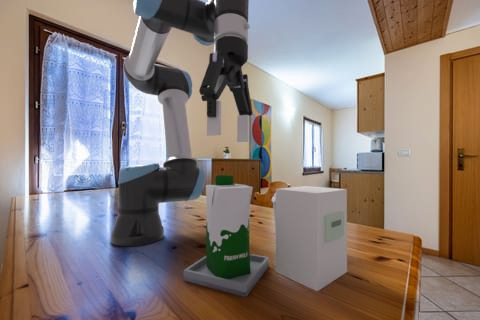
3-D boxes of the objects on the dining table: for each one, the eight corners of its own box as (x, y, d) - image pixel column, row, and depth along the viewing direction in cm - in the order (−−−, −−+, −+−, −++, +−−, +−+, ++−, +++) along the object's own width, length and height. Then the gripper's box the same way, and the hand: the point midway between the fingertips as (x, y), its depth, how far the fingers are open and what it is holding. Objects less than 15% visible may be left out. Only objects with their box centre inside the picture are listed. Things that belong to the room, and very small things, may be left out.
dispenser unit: (274, 271, 50) (274, 188, 50) (305, 257, 58) (305, 185, 58) (321, 293, 41) (320, 193, 42) (350, 273, 49) (350, 189, 49)
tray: (183, 280, 46) (183, 270, 46) (217, 255, 58) (217, 247, 58) (245, 297, 40) (245, 285, 40) (269, 266, 52) (269, 257, 52)
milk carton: (236, 258, 54) (236, 174, 55) (257, 274, 46) (257, 176, 47) (201, 266, 50) (202, 175, 50) (217, 285, 42) (218, 177, 43)
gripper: (216, 2, 38) (215, 130, 37) (265, 63, 60) (264, 143, 60) (180, 14, 41) (179, 132, 40) (239, 67, 63) (238, 143, 63)
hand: (230, 139), depth 50 cm, fingers open, 13 cm apart
